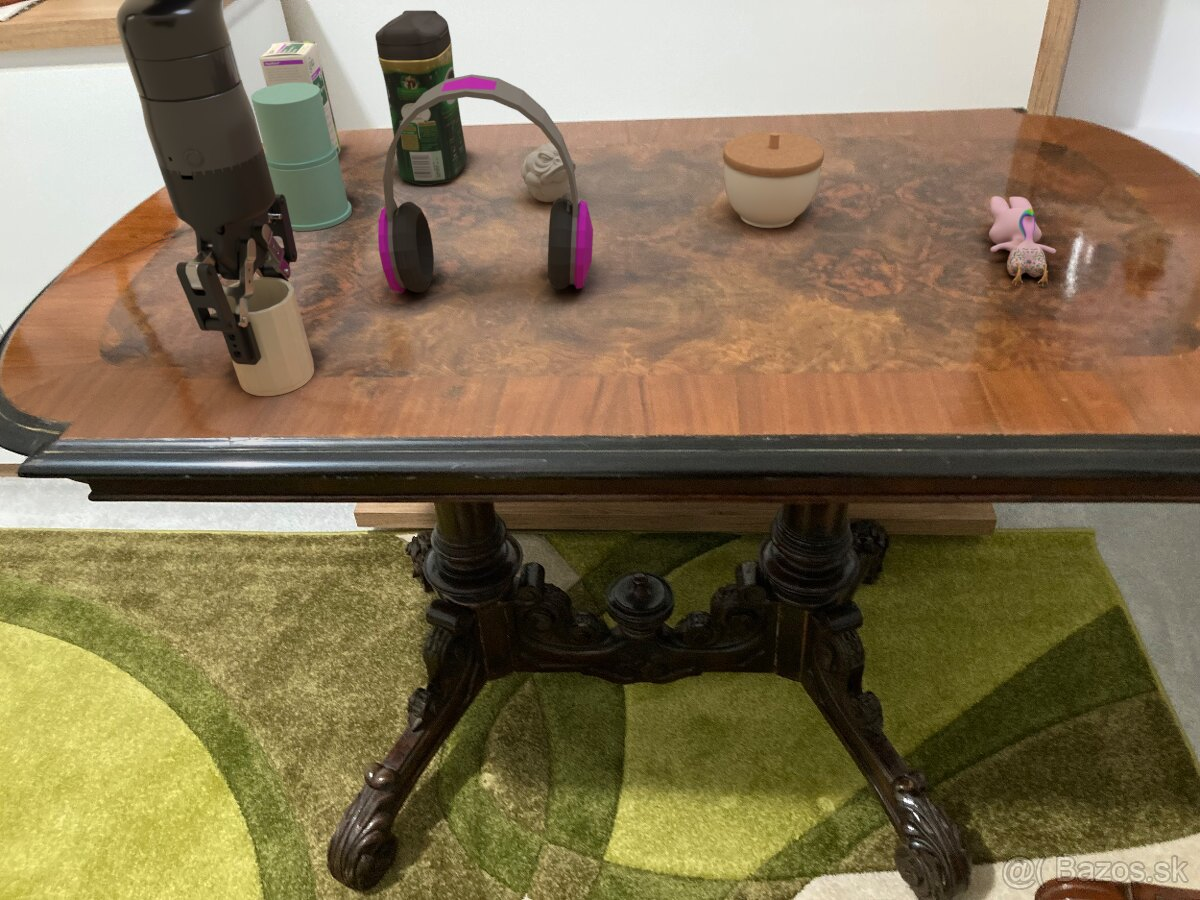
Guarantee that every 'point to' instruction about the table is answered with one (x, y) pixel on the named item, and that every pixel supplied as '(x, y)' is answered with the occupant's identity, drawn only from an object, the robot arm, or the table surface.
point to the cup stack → (301, 155)
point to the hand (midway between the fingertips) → (266, 339)
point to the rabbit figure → (1018, 237)
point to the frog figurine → (545, 173)
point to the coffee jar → (410, 68)
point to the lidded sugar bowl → (771, 176)
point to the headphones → (407, 226)
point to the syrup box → (299, 73)
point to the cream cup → (275, 340)
